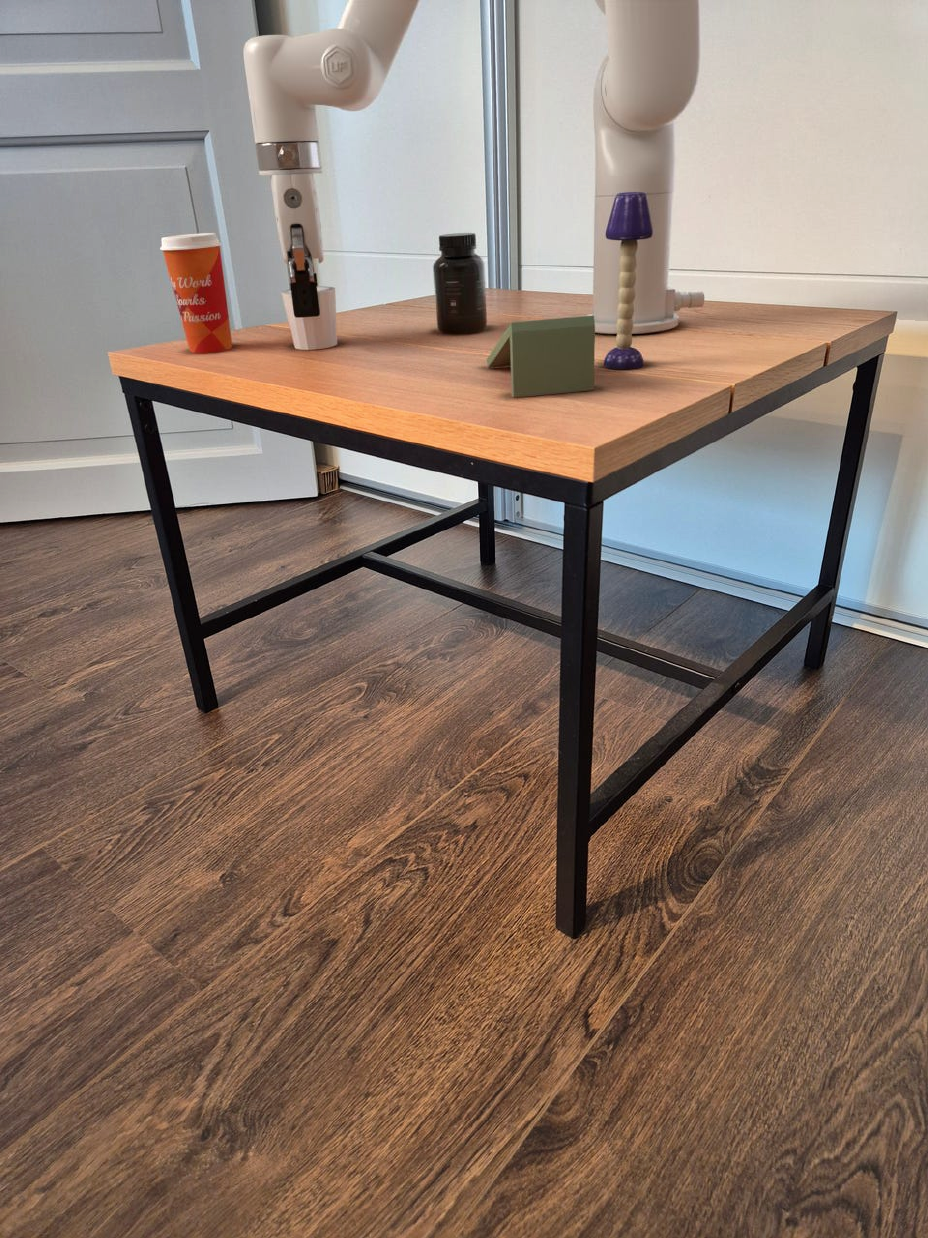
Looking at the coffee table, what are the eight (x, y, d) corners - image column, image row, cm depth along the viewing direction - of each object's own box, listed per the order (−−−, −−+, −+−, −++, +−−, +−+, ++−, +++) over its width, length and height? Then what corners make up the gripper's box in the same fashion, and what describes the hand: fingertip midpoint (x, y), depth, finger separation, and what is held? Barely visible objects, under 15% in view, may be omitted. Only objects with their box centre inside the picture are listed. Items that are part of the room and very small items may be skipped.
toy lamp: (655, 365, 89) (664, 190, 81) (622, 373, 87) (629, 193, 79) (624, 359, 93) (630, 190, 85) (592, 366, 91) (595, 194, 82)
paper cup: (169, 354, 111) (144, 239, 104) (204, 342, 117) (182, 233, 110) (219, 355, 108) (196, 237, 101) (252, 343, 114) (232, 231, 108)
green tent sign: (487, 367, 93) (484, 301, 90) (557, 361, 94) (556, 296, 90) (513, 397, 80) (511, 323, 77) (593, 390, 81) (595, 315, 78)
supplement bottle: (428, 333, 113) (421, 237, 108) (453, 324, 119) (447, 232, 113) (472, 335, 110) (467, 236, 105) (495, 326, 116) (492, 231, 110)
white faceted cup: (331, 350, 107) (324, 292, 104) (281, 351, 108) (272, 293, 105) (348, 339, 113) (342, 284, 109) (301, 340, 114) (293, 286, 111)
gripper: (321, 158, 93) (338, 319, 101) (320, 160, 108) (335, 300, 116) (253, 161, 92) (275, 323, 101) (262, 162, 107) (280, 303, 116)
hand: (307, 310), depth 108 cm, fingers open, 9 cm apart
